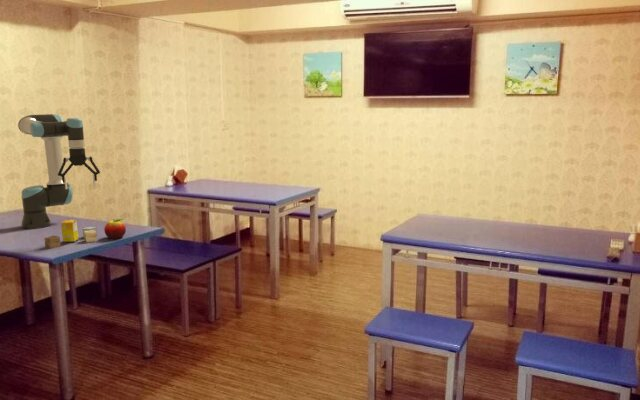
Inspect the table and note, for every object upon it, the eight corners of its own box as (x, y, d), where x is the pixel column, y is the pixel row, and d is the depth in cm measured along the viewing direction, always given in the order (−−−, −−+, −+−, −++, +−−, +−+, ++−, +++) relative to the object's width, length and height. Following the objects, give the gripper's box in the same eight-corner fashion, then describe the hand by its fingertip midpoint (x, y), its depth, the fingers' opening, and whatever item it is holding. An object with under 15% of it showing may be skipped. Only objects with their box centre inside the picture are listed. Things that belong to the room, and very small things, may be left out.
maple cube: (84, 240, 274) (84, 231, 274) (95, 239, 277) (94, 230, 276) (86, 242, 270) (85, 233, 269) (97, 241, 273) (96, 231, 272)
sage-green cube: (83, 237, 281) (82, 228, 280) (89, 235, 285) (88, 226, 284) (91, 238, 279) (90, 229, 278) (97, 235, 284) (96, 227, 283)
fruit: (102, 237, 281) (100, 219, 279) (123, 234, 287) (121, 216, 285) (108, 241, 272) (106, 222, 271) (129, 237, 279) (127, 219, 277)
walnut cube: (45, 247, 262) (44, 237, 261) (54, 245, 266) (53, 235, 265) (51, 248, 260) (50, 238, 259) (60, 246, 264) (59, 236, 263)
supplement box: (67, 240, 275) (65, 219, 273) (79, 239, 276) (77, 219, 274) (62, 243, 269) (60, 222, 267) (74, 242, 270) (72, 222, 268)
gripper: (49, 149, 265) (53, 190, 269) (102, 147, 275) (105, 187, 279) (50, 148, 272) (55, 188, 276) (102, 146, 281) (105, 185, 285)
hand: (80, 188), depth 277 cm, fingers open, 13 cm apart
